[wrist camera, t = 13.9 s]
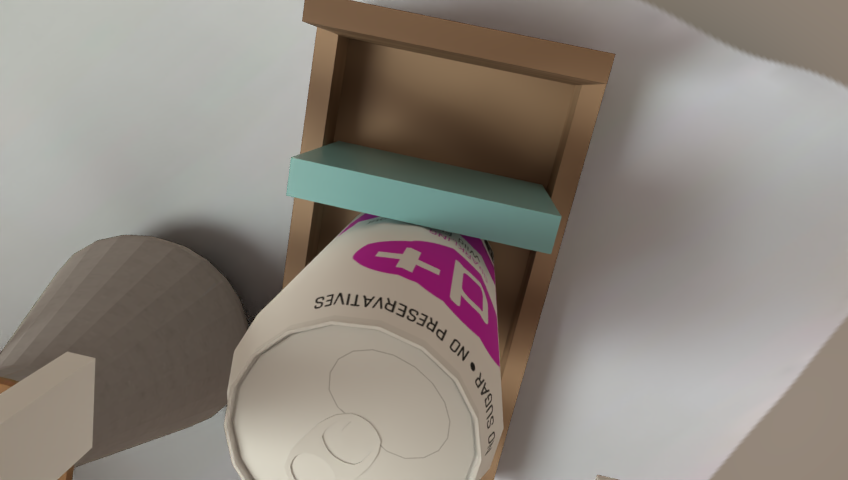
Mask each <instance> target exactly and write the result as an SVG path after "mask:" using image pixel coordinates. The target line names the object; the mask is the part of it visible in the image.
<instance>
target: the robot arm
mask: <svg viewBox="0 0 848 480" xmlns="http://www.w3.org/2000/svg"><path fill="white" fill-rule="evenodd" d="M94 384H95V358H93V357H88V356H84V355H80V354H75V353H71V352H66V353H64V354H63V355H61V356H59V357H58V358H56V359H55V360H53V361H51V362H50V363H48V364H47V365H45V366H44V367H42V368H40V369H39V370H37V371H36V372H34V373H32V374H31V375H29V376H28V377H26V378H25V379H23V380H21V381H20V382H18V383H17V384H15V385H13V386H12V387H10V388H9V389H7V390H6V391H4V392H2V393H1V394H0V480H58V479H59V478H60V477H61V476H62V475H63V474H64V473H65V472H66V471H67V470H68V469H70V468H71V467H72V466H73V465H74V464H75V463H76V462H77V461H78V460H79V459H80V458H81V457H83V456H84V455H85V454H86V453H87V452H88V451H89V450H90V449H91V448H92V441H93V412H94ZM595 480H618V479H614V478H610V477H605V476H601V475H597V477H596V479H595Z"/></svg>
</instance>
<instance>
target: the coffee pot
mask: <svg viewBox="0 0 848 480" xmlns="http://www.w3.org/2000/svg"><path fill="white" fill-rule="evenodd" d="M247 330H248V322H247V319H246V316H245V313H244V310H243V307H242V304H241V301H240V299H239V298H238V296H237V294H236V293H235V291H234V290H233V288H232V286H231V285H230V283H229V282H228V280H227V279H226V278H225V277H224V276H223V275H222V274H221V273H220V272H219V271H218V270H217V269H216V268H215V267H214V266H213V265H212V264H211V263H210V262H209V261H208V260H206V259H205V258H203V257H202V256H200V255H198V254H197V253H195V252H193V251H192V250H190V249H189V248H187V247H185V246H182V245H179V244H176V243H173V242H170V241H167V240H164V239H160V238H156V237H153V236H137V235H120V236H116V237H111V238H107V239H102V240H97V241H95V242H94V243H92V244H90V245H88V246H87V247H85V248H83V249H82V250H80V251H78V252H76V253H75V254H74V255H72V257H71V258H70V259H69V260H68V261H67V262H66V263H65V264H64V266H63V267H62V268H61V269H60V270H59V271H58V272H57V274H56V275H55V276H54V278H53V279H52V281H51V282H50V283H49V285H48V286H47V288H46V289H45V291H44V292H43V293H42V295H41V296H40V298H39V299H38V300H37V302H36V303H35V305H34V306H33V307H32V309H31V310H30V312H29V313H28V315H27V316H26V317H25V319H24V320H23V322H22V323H21V324H20V326H19V327H18V329H17V330H16V331H15V333H14V334H13V336H12V337H11V339H10V340H9V341H8V343H7V344H6V346H5V347H4V348H3V350H2V351H1V353H0V394H1V393H2V392H4V391H6V390H7V389H9V388H10V387H12V386H13V385H15V384H17V383H18V382H20V381H21V380H23V379H25V378H26V377H28V376H29V375H31V374H32V373H34V372H36V371H37V370H39V369H40V368H42V367H44V366H45V365H47V364H48V363H50V362H51V361H53V360H55V359H56V358H58V357H59V356H61V355H63V354H64V353H66V352H71V353H75V354H80V355H84V356H88V357H93V358H95V384H94V412H93V441H92V448H91V449H90V450H89V451H88V452H87V453H86V454H85V455H84V456H83V457H81V458H80V459H79V460H78V461H77V462H76V463H75V464H74V465H73V466H72V467H71V468H70V469H68V470H67V471H66V472H65V473H64V474H63V475H62V476H61V477H60V478H59V479H58V480H72V477H73V470H74V468H75V467H78V466H81V465H83V464H86V463H89V462H92V461H95V460H98V459H100V458H103V457H106V456H109V455H112V454H114V453H117V452H120V451H123V450H126V449H129V448H131V447H134V446H137V445H140V444H143V443H146V442H148V441H151V440H154V439H157V438H160V437H163V436H165V435H168V434H171V433H174V432H177V431H179V430H182V429H185V428H188V427H191V426H193V425H195V424H197V423H200V422H202V421H204V420H206V419H208V418H211V417H212V416H214V415H215V414H216V413H217V412H218V411H220V410H221V409H222V408H223V407H224V406H225V405H226V404H227V403H228V399H227V390H228V384H229V378H230V372H231V366H232V360H233V354H234V351H235V349H236V347H237V346H238V344H239V343H240V341H241V340H242V338H243V336H244V335H245V333H246V332H247Z"/></svg>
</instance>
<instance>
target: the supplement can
mask: <svg viewBox="0 0 848 480" xmlns="http://www.w3.org/2000/svg"><path fill="white" fill-rule="evenodd" d="M227 399H228V403H227V409H226V415H225V421H224V429H225V434H226V438H227V443H228V447H229V452H230V456H231V461H232V464H233V466H234V468H235V469H236V471H237V472H238V474H239V476H240V477H241V479H242V480H480V479H481V478H482V477H483V476H484V474H485V473H486V472H487V471H488V470H489V469H490V466H491V463H492V460H493V458H494V455H495V452H496V449H497V446H498V443H499V440H500V437H501V434H502V432H503V429H504V426H503V408H502V390H501V372H500V355H499V337H498V319H497V301H496V284H495V269H494V254H493V251H492V249H491V246H490V244H489V242H488V240H484V239H480V238H475V237H471V236H466V235H462V234H457V233H453V232H448V231H444V230H439V229H435V228H430V227H426V226H421V225H417V224H412V223H408V222H403V221H399V220H394V219H390V218H385V217H381V216H376V215H372V214H367V213H363V212H362V213H360V214H359V215H358V216H357V217H356V218H355V219H354V220H353V221H352V222H351V223H350V224H349V225H348V226H347V227H346V228H345V229H344V230H343V231H341V232H340V233H339V234H338V235H337V236H336V237H335V238H334V239H333V240H332V241H331V242H330V243H329V244H328V245H327V246H326V247H325V248H324V249H323V250H322V251H321V252H320V253H319V254H318V255H317V256H316V257H315V258H314V259H313V260H312V261H311V262H310V263H309V264H308V265H307V266H306V267H305V268H304V269H303V270H302V271H301V272H300V273H299V274H298V275H297V276H296V277H295V278H294V279H293V280H292V281H291V282H290V283H289V284H288V285H287V286H286V287H285V288H284V289H283V290H282V291H281V292H280V293H279V294H278V295H277V296H276V297H275V298H274V299H273V300H272V301H271V302H270V303H269V304H268V305H267V306H266V307H265V308H264V309H263V310H262V311H261V312H260V313H259V314H258V315H257V316H256V318H255V319H254V321H253V322H252V324H251V325H250V327H249V329H248V330H247V332H246V333H245V335H244V336H243V338H242V340H241V341H240V343H239V344H238V346H237V347H236V349H235V351H234V354H233V360H232V366H231V372H230V378H229V384H228V390H227Z"/></svg>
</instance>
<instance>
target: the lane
mask: <svg viewBox="0 0 848 480" xmlns="http://www.w3.org/2000/svg"><path fill="white" fill-rule="evenodd" d="M302 21H303V22H306V23H308V24H311V25H314V26H316V27H317V32H316V39H315V47H314V54H313V62H312V69H311V77H310V84H309V92H308V99H307V107H306V114H305V122H304V129H303V137H302V144H301V152H300V154H302V153H305V152H308V151H311V150H314V149H317V148H320V147H322V146H325V145H328V144H331V143H334V142H337V141H342V142H346V143H351V144H356V145H360V146H365V147H369V148H374V149H379V150H383V151H388V152H393V153H397V154H402V155H406V156H411V157H416V158H420V159H425V160H430V161H434V162H439V163H443V164H448V165H453V166H457V167H462V168H467V169H471V170H476V171H480V172H485V173H490V174H494V175H499V176H504V177H508V178H513V179H517V180H522V181H527V182H531V183H536V184H541V185H543V187H544V188H545V190H546V192H547V193H548V195H549V197H550V198H551V200H552V202H553V203H554V205H555V206H556V208H557V210H558V211H559V213H560V215H561V216H562V217H561V221H560V224H559V228H558V231H557V235H556V239H555V242H554V246H553V249H552V253H551V254H547V253H542V252H538V251H533V250H529V249H524V248H520V247H515V246H511V245H507V244H502V243H498V242H493V241H489V240H488V242H489V244H490V246H491V249H492V251H493V254H494V269H495V284H496V301H497V319H498V337H499V355H500V372H501V390H502V408H503V426H504V429H503V432H502V434H501V437H500V440H499V443H498V446H497V449H496V452H495V455H494V458H493V460H492V463H491V466H490V469H489V470H488V471H487V472H486V473H485V474H484V476H483V477H482V478H481V479H480V480H494V477H495V473H496V470H497V466H498V463H499V459H500V456H501V452H502V449H503V445H504V442H505V438H506V435H507V431H508V428H509V424H510V421H511V417H512V414H513V410H514V407H515V403H516V400H517V396H518V393H519V389H520V386H521V382H522V379H523V375H524V371H525V368H526V364H527V361H528V357H529V354H530V350H531V347H532V343H533V340H534V336H535V333H536V329H537V326H538V322H539V319H540V315H541V312H542V308H543V305H544V301H545V298H546V294H547V291H548V287H549V284H550V280H551V277H552V273H553V270H554V266H555V263H556V259H557V256H558V252H559V249H560V245H561V242H562V238H563V235H564V231H565V228H566V224H567V221H568V217H569V214H570V210H571V207H572V203H573V200H574V196H575V193H576V189H577V186H578V182H579V179H580V175H581V172H582V168H583V165H584V161H585V158H586V154H587V151H588V147H589V144H590V140H591V137H592V133H593V130H594V126H595V123H596V119H597V116H598V112H599V108H600V105H601V101H602V98H603V94H604V91H605V87H606V84H607V82H608V78H609V75H610V71H611V68H612V64H613V61H614V57H615V54H613V53H608V52H603V51H598V50H593V49H588V48H583V47H578V46H573V45H568V44H563V43H558V42H554V41H549V40H544V39H539V38H534V37H529V36H524V35H519V34H514V33H509V32H504V31H499V30H494V29H489V28H485V27H480V26H475V25H470V24H465V23H460V22H455V21H450V20H445V19H440V18H435V17H430V16H425V15H420V14H416V13H411V12H406V11H401V10H396V9H391V8H386V7H381V6H376V5H371V4H366V3H361V2H356V1H351V0H305V3H304V11H303V18H302ZM360 213H362V212H358V211H354V210H349V209H345V208H340V207H336V206H331V205H327V204H322V203H318V202H313V201H309V200H304V199H300V198H295V197H294V204H293V211H292V219H291V226H290V234H289V241H288V249H287V256H286V264H285V271H284V279H283V286H282V290H283V289H284V288H285V287H286V286H287V285H288V284H289V283H290V282H291V281H292V280H293V279H294V278H295V277H296V276H297V275H298V274H299V273H300V272H301V271H302V270H303V269H304V268H305V267H306V266H307V265H308V264H309V263H310V262H311V261H312V260H313V259H314V258H315V257H316V256H317V255H318V254H319V253H320V252H321V251H322V250H323V249H324V248H325V247H326V246H327V245H328V244H329V243H330V242H331V241H332V240H333V239H334V238H335V237H336V236H337V235H338V234H339V233H340V232H341V231H343V230H344V229H345V228H346V227H347V226H348V225H349V224H350V223H351V222H352V221H353V220H354V219H355V218H356V217H357V216H358V215H359V214H360Z"/></svg>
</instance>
